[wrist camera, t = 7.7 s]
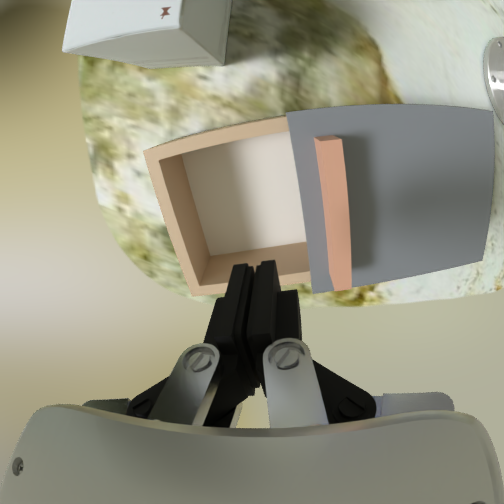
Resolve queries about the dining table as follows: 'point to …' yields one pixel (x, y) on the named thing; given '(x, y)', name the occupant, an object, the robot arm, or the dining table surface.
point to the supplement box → (150, 31)
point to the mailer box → (231, 202)
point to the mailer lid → (392, 189)
